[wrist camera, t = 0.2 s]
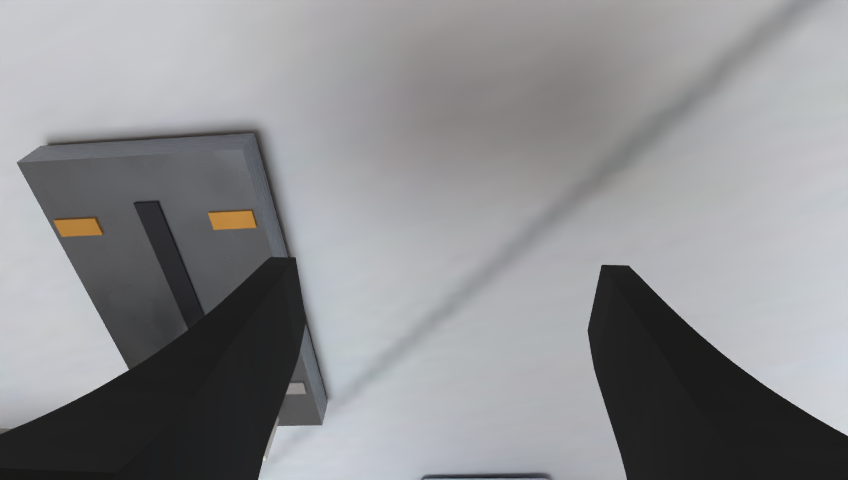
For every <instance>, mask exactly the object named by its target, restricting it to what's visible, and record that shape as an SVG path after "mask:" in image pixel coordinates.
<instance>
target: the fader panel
mask: <svg viewBox="0 0 848 480" xmlns="http://www.w3.org/2000/svg"><path fill="white" fill-rule="evenodd" d="M17 164H18V166H19V168H20V170H21V171H22V173H23V175H24V177H25V179H26V181H27V182H28V184H29V186H30V188H31V190H32V192H33V193H34V195H35V197H36V199H37V201H38V203H39V204H40V206H41V208H42V210H43V212H44V214H45V216H46V217H47V219H48V221H49V223H50V225H51V227H52V228H53V230H54V232H55V234H56V236H57V238H58V239H59V241H60V243H61V245H62V247H63V249H64V250H65V252H66V254H67V256H68V258H69V260H70V261H71V263H72V265H73V267H74V269H75V271H76V273H77V274H78V276H79V278H80V280H81V282H82V284H83V285H84V287H85V289H86V291H87V293H88V295H89V296H90V298H91V300H92V302H93V304H94V306H95V307H96V309H97V311H98V313H99V315H100V317H101V319H102V320H103V322H104V324H105V326H106V328H107V330H108V331H109V333H110V335H111V337H112V339H113V341H114V342H115V344H116V346H117V348H118V350H119V352H120V353H121V355H122V357H123V359H124V361H125V363H126V364H127V366H128V368H129V370H130V369H132V368H133V367H135V366H137V365H138V364H140V363H142V362H143V361H145V360H146V359H148V358H149V357H151V356H152V355H154V354H155V353H157V352H158V351H159V350H161V349H162V348H164V347H165V346H167V345H168V344H170V343H171V342H172V341H174V340H175V339H176V338H178V337H179V336H180V335H182V334H183V333H184V332H186V331H187V330H188V329H189V328H190V327H192V326H193V325H194V324H195V323H197V322H198V321H199V320H200V319H201V318H203V317H204V316H205V315H206V314H208V313H209V312H210V311H211V310H213V309H214V308H215V307H216V306H217V305H218V304H219V303H220V302H222V301H223V300H224V299H225V298H226V297H227V296H228V295H229V294H231V293H232V292H233V291H234V290H235V289H236V288H237V287H238V286H239V285H240V284H241V283H242V282H244V281H245V280H246V279H247V278H248V277H249V276H250V275H251V274H252V273H253V272H254V271H255V270H256V269H258V268H259V267H260V266H261V265H262V264H263V263H264V262H265V261H266V260H267V259H268V258H270V257H288V255H287V251H286V248H285V244H284V240H283V237H282V233H281V229H280V226H279V222H278V218H277V215H276V211H275V207H274V204H273V200H272V196H271V193H270V189H269V185H268V182H267V178H266V174H265V171H264V167H263V163H262V160H261V156H260V152H259V148H258V145H257V141H256V137H255V134H254V133H248V134H232V135H215V136H199V137H182V138H166V139H149V140H133V141H116V142H100V143H83V144H67V145H50V146H40V147H39V148H37V149H36V150H34V151H33V152H31V153H30V154H28V155H27V156H26V157H24V158H23V159H21V160H20V161H18V162H17ZM327 403H328V402H327V399H326V395H325V391H324V388H323V384H322V380H321V377H320V373H319V369H318V365H317V362H316V358H315V354H314V351H313V347H312V343H311V340H310V336H309V332H308V329H307V325H305V330H304V335H303V340H302V344H301V349H300V353H299V357H298V361H297V364H296V367H295V370H294V372H293V375H292V378H291V381H290V384H289V386H288V389H287V392H286V395H285V397H284V400H283V403H282V406H281V408H280V411H279V414H278V417H279V422H278V425H277V426H297V425H322V424H323V420H324V415H325V411H326V407H327Z"/></svg>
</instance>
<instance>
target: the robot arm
mask: <svg viewBox="0 0 848 480" xmlns="http://www.w3.org/2000/svg"><path fill="white" fill-rule="evenodd" d="M305 325H306V318H305V312H304V306H303V300H302V294H301V288H300V282H299V276H298V270H297V264H296V258H295V257H270V258H268V259H267V260H266V261H265V262H264V263H263V264H262V265H261V266H260V267H259V268H258V269H256V270H255V271H254V272H253V273H252V274H251V275H250V276H249V277H248V278H247V279H246V280H245V281H244V282H242V283H241V284H240V285H239V286H238V287H237V288H236V289H235V290H234V291H233V292H232V293H231V294H229V295H228V296H227V297H226V298H225V299H224V300H223V301H222V302H220V303H219V304H218V305H217V306H216V307H215V308H214V309H213V310H211V311H210V312H209V313H208V314H206V315H205V316H204V317H203V318H201V319H200V320H199V321H198V322H197V323H195V324H194V325H193V326H192V327H190V328H189V329H188V330H187V331H186V332H184V333H183V334H182V335H180V336H179V337H178V338H176V339H175V340H174V341H172V342H171V343H170V344H168V345H167V346H165V347H164V348H162V349H161V350H159V351H158V352H157V353H155V354H154V355H152V356H151V357H149V358H148V359H146V360H145V361H143V362H142V363H140V364H138V365H137V366H135V367H133V368H132V369H130V370H128V371H127V372H125V373H123V374H122V375H120V376H118V377H116V378H115V379H113V380H111V381H110V382H108V383H106V384H105V385H103V386H101V387H99V388H98V389H96V390H94V391H92V392H90V393H88V394H86V395H84V396H82V397H81V398H79V399H77V400H75V401H73V402H71V403H69V404H67V405H65V406H63V407H60V408H58V409H56V410H54V411H52V412H50V413H48V414H46V415H44V416H42V417H39V418H37V419H35V420H33V421H30V422H28V423H26V424H23V425H21V426H18V427H16V428H14V429H11V430H9V431H7V432H4V433H2V434H0V480H258V477H259V473H260V469H261V465H262V461H263V457H264V454H265V451H266V448H267V445H268V442H269V439H270V436H271V433H272V430H273V428H274V425H275V422H276V419H277V417H278V414H279V411H280V408H281V406H282V403H283V400H284V397H285V395H286V392H287V389H288V386H289V384H290V381H291V378H292V375H293V372H294V370H295V367H296V364H297V361H298V357H299V353H300V349H301V344H302V340H303V335H304V330H305ZM588 335H589V342H590V348H591V354H592V360H593V365H594V370H595V373H596V377H597V380H598V383H599V386H600V390H601V393H602V396H603V399H604V403H605V406H606V409H607V412H608V415H609V418H610V422H611V425H612V428H613V431H614V434H615V437H616V441H617V444H618V447H619V450H620V453H621V457H622V461H623V464H624V468H625V472H626V477H627V480H848V436H847V435H845V434H843V433H841V432H839V431H838V430H836V429H834V428H832V427H830V426H829V425H827V424H825V423H824V422H822V421H820V420H818V419H817V418H815V417H813V416H811V415H810V414H808V413H807V412H805V411H803V410H802V409H800V408H799V407H797V406H795V405H794V404H792V403H791V402H789V401H787V400H786V399H784V398H783V397H781V396H780V395H778V394H777V393H775V392H774V391H772V390H771V389H769V388H768V387H766V386H765V385H763V384H762V383H760V382H759V381H758V380H756V379H755V378H754V377H752V376H751V375H750V374H748V373H747V372H745V371H744V370H743V369H741V368H740V367H739V366H737V365H736V364H735V363H733V362H732V361H731V360H729V359H728V358H727V357H726V356H724V355H723V354H722V353H721V352H720V351H718V350H717V349H716V348H715V347H714V346H712V345H711V344H710V343H709V342H708V341H707V340H705V339H704V338H703V337H702V336H701V335H700V334H698V333H697V332H696V331H695V330H694V329H693V328H692V327H691V326H689V325H688V324H687V323H686V322H685V321H684V320H683V319H682V318H681V317H680V316H679V315H678V314H677V313H676V312H675V311H674V310H673V309H671V308H670V307H669V306H668V305H667V304H666V303H665V302H664V301H663V300H662V299H661V298H660V297H659V296H658V295H657V294H656V293H655V292H654V291H653V290H652V289H651V288H650V287H649V286H648V285H647V284H646V283H645V282H644V281H643V280H642V278H641V277H640V276H639V275H638V274H637V273H636V272H635V271H634V270H632V269H631V268H630V267H629V266H624V265H602V266H601V271H600V275H599V280H598V285H597V289H596V294H595V299H594V303H593V308H592V312H591V317H590V322H589V326H588ZM424 480H548V479H545V478H488V479H424Z"/></svg>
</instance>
